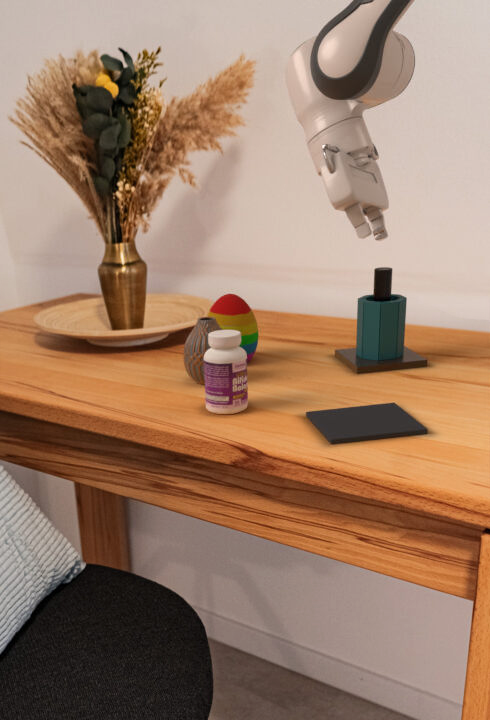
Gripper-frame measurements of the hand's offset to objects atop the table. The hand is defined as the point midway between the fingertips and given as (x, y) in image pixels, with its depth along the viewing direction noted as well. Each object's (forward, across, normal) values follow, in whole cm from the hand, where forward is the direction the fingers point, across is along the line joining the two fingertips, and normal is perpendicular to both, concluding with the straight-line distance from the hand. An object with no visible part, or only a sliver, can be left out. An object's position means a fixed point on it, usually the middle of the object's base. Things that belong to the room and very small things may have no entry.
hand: (374, 238), depth 127 cm
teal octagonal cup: (+17, -11, +2) cm, 20 cm away
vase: (+12, -26, +22) cm, 36 cm away
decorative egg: (+10, -16, +22) cm, 29 cm away
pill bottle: (+17, -36, +16) cm, 43 cm away
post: (+18, -11, +3) cm, 21 cm away
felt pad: (+24, -37, 0) cm, 44 cm away
